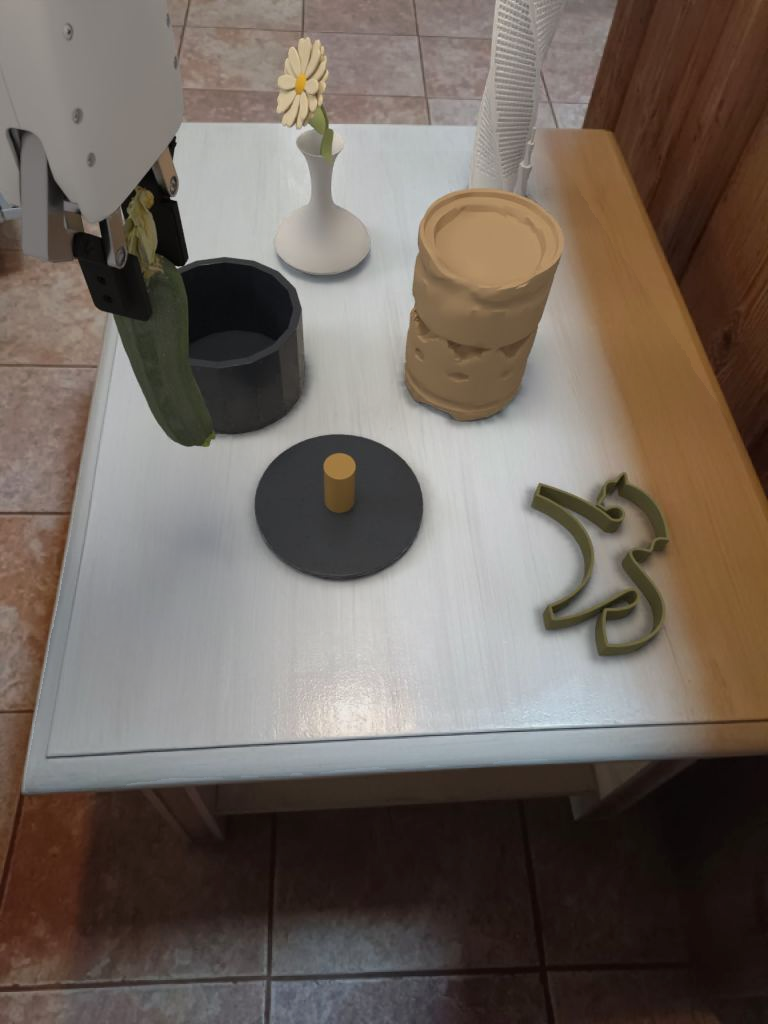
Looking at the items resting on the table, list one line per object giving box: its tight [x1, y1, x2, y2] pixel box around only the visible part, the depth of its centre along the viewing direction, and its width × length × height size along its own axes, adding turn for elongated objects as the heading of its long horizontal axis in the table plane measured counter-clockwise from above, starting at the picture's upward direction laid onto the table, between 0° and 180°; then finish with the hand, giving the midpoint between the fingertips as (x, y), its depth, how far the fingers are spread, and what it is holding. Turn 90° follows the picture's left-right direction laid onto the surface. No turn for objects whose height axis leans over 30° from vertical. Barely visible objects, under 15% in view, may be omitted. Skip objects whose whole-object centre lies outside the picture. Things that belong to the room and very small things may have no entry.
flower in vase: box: [273, 36, 371, 276], centre depth 76 cm, size 13×11×25 cm
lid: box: [254, 433, 424, 579], centre depth 65 cm, size 16×16×7 cm
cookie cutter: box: [530, 471, 670, 657], centre depth 65 cm, size 18×12×2 cm, turn 178°
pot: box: [177, 256, 306, 435], centre depth 72 cm, size 15×15×10 cm
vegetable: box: [112, 186, 216, 448], centre depth 45 cm, size 4×4×20 cm
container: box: [404, 188, 565, 422], centre depth 70 cm, size 13×13×18 cm
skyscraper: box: [468, 0, 567, 197], centre depth 82 cm, size 8×8×28 cm
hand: (143, 282), depth 41 cm, fingers closed on vegetable, 4 cm apart
